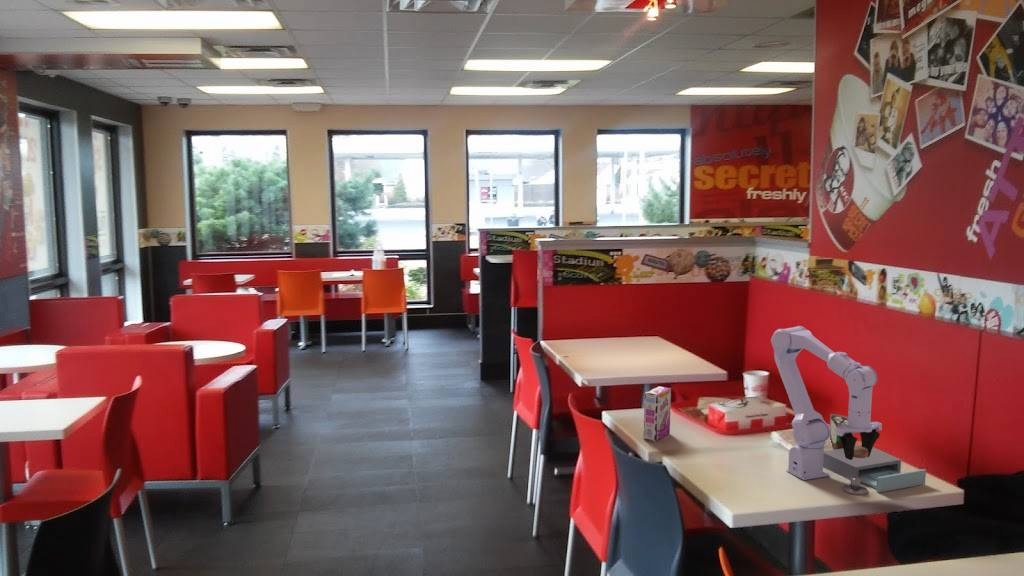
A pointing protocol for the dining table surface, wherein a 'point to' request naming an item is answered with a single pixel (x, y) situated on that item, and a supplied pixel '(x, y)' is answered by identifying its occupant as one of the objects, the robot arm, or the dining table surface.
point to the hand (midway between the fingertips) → (857, 457)
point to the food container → (835, 422)
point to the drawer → (891, 478)
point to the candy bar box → (657, 413)
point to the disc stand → (855, 487)
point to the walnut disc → (860, 452)
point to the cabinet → (858, 462)
